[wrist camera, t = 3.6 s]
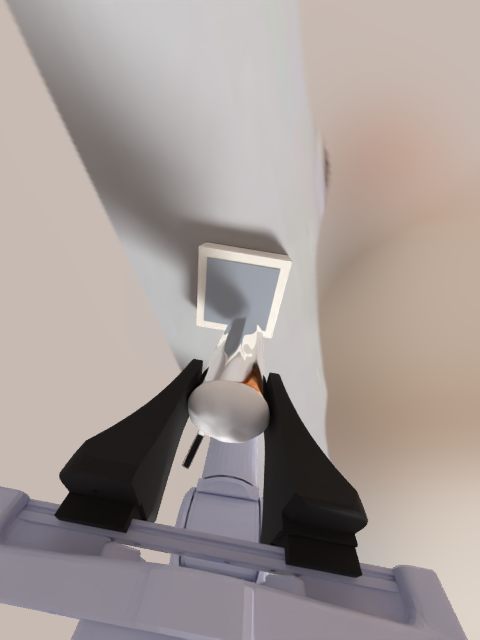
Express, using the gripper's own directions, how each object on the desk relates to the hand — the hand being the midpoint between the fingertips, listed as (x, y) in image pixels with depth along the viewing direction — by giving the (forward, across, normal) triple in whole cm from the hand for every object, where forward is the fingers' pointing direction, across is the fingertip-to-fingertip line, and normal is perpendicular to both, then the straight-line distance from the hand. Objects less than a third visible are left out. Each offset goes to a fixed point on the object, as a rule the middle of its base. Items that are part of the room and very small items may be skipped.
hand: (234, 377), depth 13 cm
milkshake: (+6, 0, 0) cm, 6 cm away
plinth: (+10, +1, -2) cm, 10 cm away
